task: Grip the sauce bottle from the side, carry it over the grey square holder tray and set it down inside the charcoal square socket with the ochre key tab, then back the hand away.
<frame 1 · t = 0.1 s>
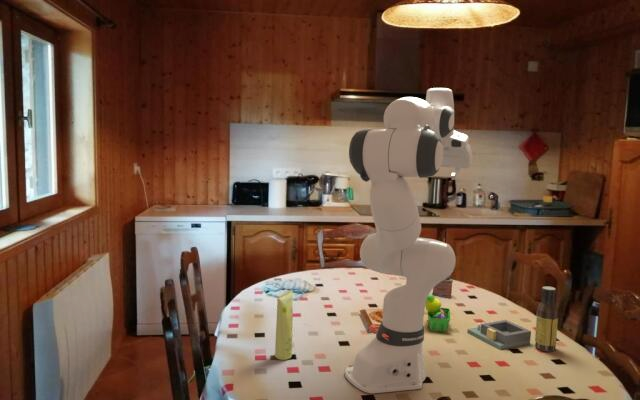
hand: (439, 178, 175), 52 cm above the table, tool tilted 20°, fingers open, 8 cm apart
fruit basket: (436, 327, 186), on the table
sauce bottle: (544, 348, 170), on the table
tube: (282, 357, 157), on the table
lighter: (441, 296, 221), on the table
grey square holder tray: (498, 337, 178), on the table
socket: (504, 339, 176), resting on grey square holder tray
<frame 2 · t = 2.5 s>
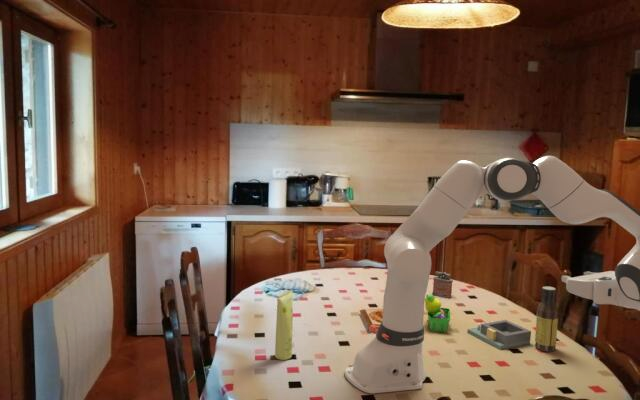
hand: (574, 276, 155), 27 cm above the table, tool horizontal, fingers open, 8 cm apart
nothing on the table moved.
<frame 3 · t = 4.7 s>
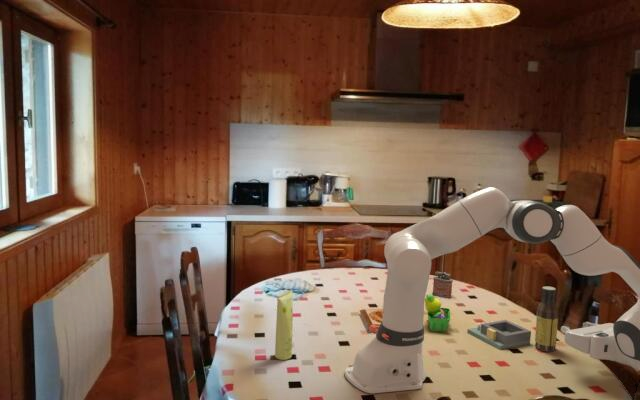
hand: (573, 326, 160), 11 cm above the table, tool horizontal, fingers open, 8 cm apart
nothing on the table moved.
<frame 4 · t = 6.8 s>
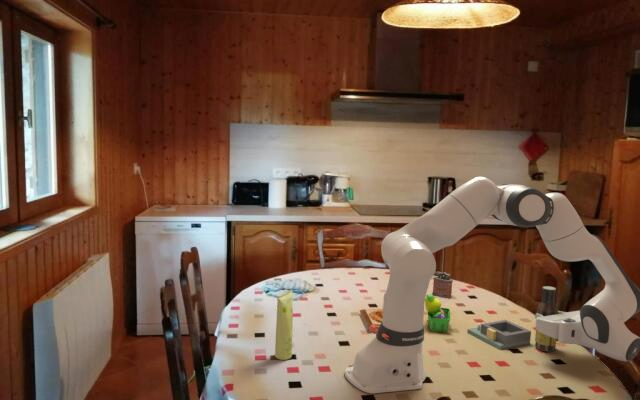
hand: (545, 314, 170), 11 cm above the table, tool horizontal, fingers closed on sauce bottle, 6 cm apart
sauce bottle: (544, 348, 170), on the table, touching gripper
everything else where it was.
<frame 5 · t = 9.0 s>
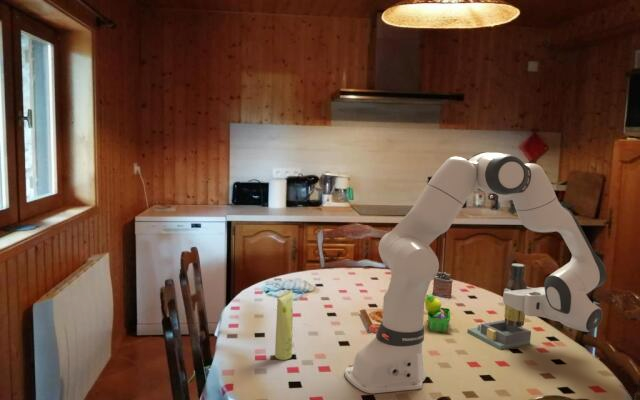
hand: (514, 289, 173), 17 cm above the table, tool horizontal, fingers closed on sauce bottle, 6 cm apart
sauce bottle: (513, 324, 174), point 6 cm above the table, touching gripper
everything else where it was.
when the fingers open (14 cm above the table, at t = 10.8 s): sauce bottle stays where it is, resting on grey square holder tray.
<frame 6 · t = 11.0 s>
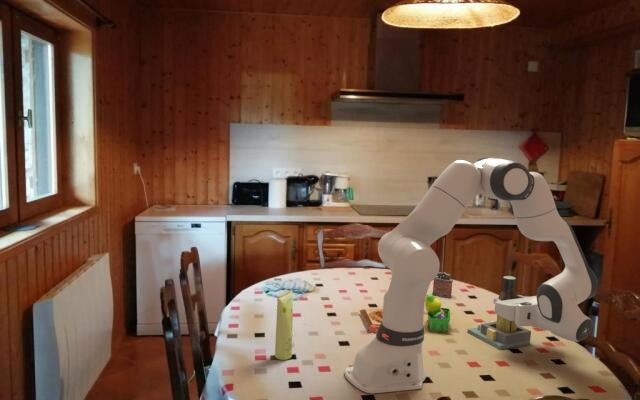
hand: (506, 298, 175), 14 cm above the table, tool horizontal, fingers open, 8 cm apart
sauce bottle: (505, 336, 176), point 1 cm above the table, touching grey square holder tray
everything else where it was.
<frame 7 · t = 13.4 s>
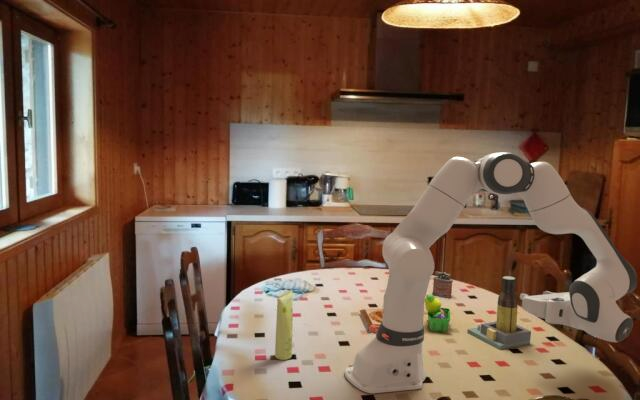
hand: (533, 294, 162), 19 cm above the table, tool horizontal, fingers open, 8 cm apart
nothing on the table moved.
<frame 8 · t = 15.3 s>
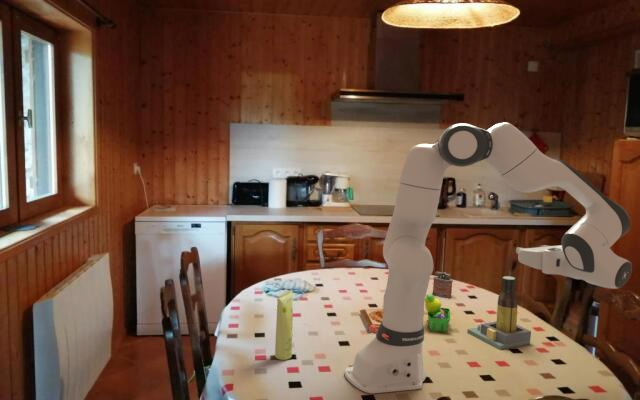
hand: (529, 248, 157), 34 cm above the table, tool horizontal, fingers open, 8 cm apart
nothing on the table moved.
at the end: sauce bottle 0.0 cm off-centre on the socket, point 1.0 cm above the socket's base; sauce bottle tilted 0°; the gripper is holding nothing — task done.
